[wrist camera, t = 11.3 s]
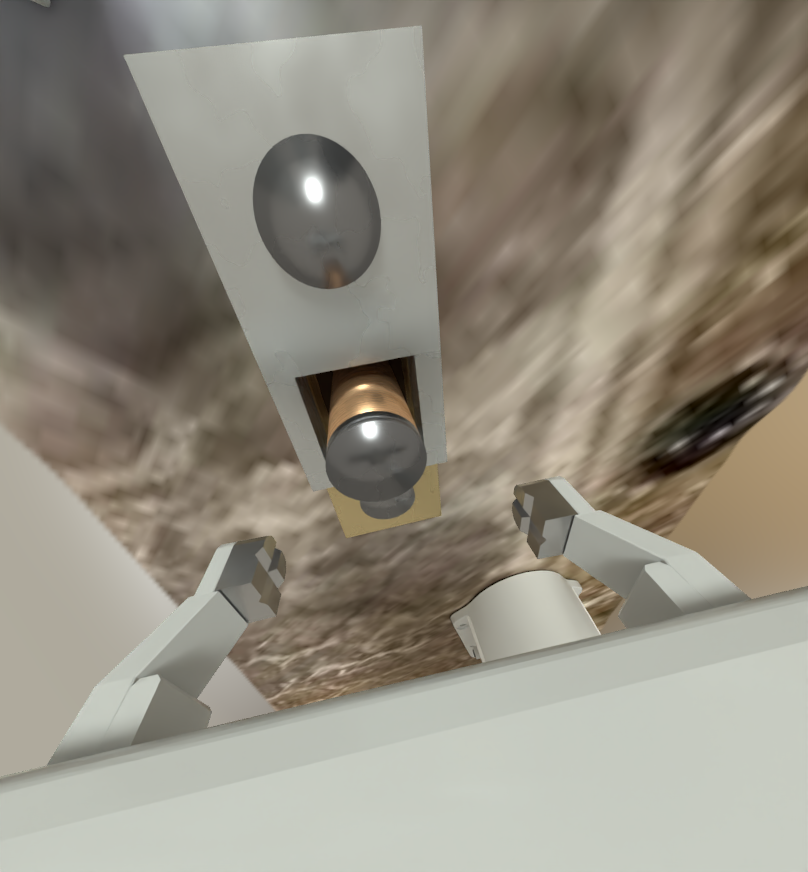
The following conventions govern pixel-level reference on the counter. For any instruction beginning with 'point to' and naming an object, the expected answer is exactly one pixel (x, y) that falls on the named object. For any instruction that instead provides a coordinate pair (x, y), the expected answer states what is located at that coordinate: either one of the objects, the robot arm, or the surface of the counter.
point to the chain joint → (316, 222)
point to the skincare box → (43, 2)
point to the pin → (372, 435)
